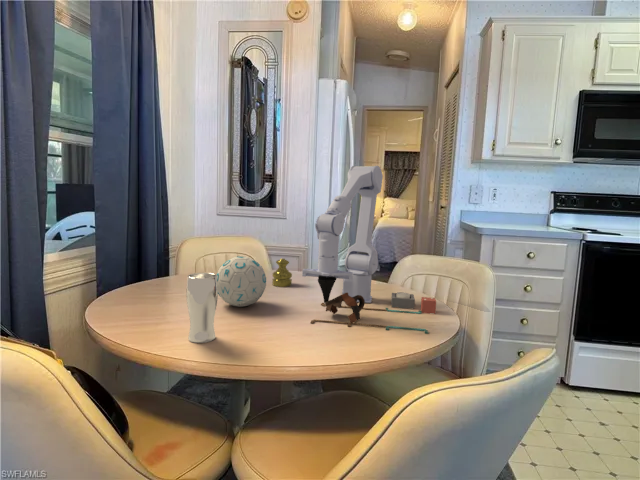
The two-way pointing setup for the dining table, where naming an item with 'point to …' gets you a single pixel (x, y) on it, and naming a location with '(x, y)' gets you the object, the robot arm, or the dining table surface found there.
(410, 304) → the box
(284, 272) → the gold chess piece
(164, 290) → the dining table surface
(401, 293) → the dome
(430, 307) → the die
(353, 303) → the brown bent frame piece
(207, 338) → the beer glass
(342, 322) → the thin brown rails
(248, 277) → the puzzle ball
